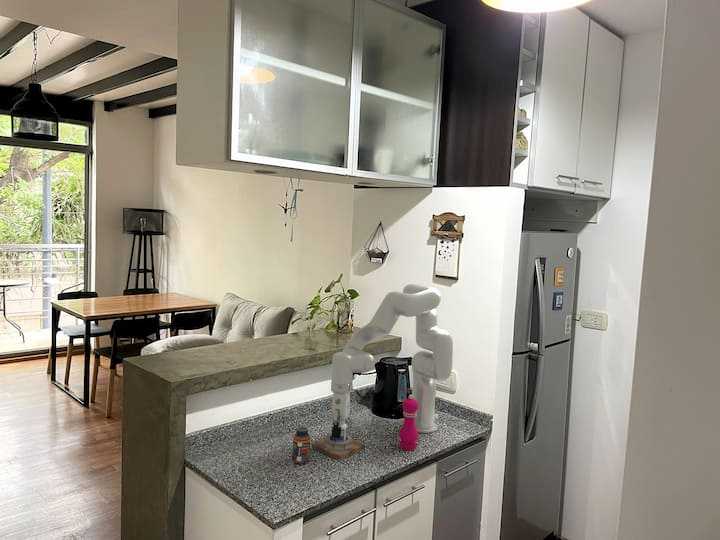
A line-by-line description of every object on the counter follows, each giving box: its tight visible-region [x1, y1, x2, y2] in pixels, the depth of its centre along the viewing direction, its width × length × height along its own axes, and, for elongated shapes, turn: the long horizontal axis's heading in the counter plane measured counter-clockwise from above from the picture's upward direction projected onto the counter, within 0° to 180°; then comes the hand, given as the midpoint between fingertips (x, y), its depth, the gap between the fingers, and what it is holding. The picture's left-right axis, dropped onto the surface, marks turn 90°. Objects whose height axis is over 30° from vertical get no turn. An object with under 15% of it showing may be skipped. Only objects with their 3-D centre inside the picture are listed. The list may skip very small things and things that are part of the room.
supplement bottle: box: [291, 426, 311, 465], centre depth 182 cm, size 6×6×11 cm
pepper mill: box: [398, 394, 419, 451], centre depth 198 cm, size 7×7×20 cm
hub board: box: [310, 432, 366, 461], centre depth 194 cm, size 14×14×4 cm
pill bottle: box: [332, 420, 348, 442], centre depth 194 cm, size 5×5×10 cm
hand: (339, 432), depth 194 cm, fingers open, 9 cm apart
